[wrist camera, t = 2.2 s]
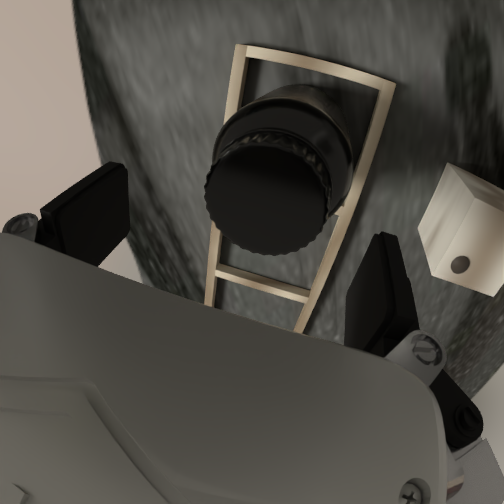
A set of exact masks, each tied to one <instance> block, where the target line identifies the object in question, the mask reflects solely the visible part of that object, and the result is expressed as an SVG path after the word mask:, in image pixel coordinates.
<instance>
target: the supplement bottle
mask: <svg viewBox="0 0 504 504" xmlns="http://www.w3.org/2000/svg"><path fill="white" fill-rule="evenodd" d="M353 172H354V161H353V154H352V147H351V141H350V135H349V129H348V124H347V121H346V118H345V115H344V113H343V111H342V109H341V108H340V106H339V105H338V104H337V103H336V101H335V100H334V99H333V98H331V97H330V96H329V95H328V94H326V93H325V92H323V91H321V90H319V89H317V88H314V87H311V86H307V85H287V86H283V87H280V88H278V89H275V90H273V91H271V92H269V93H267V94H265V95H264V96H262V97H260V98H258V99H256V100H254V101H253V102H251V103H249V104H247V105H245V106H244V107H242V108H241V109H239V110H238V111H237V112H236V113H234V114H233V115H232V116H231V117H230V118H229V119H228V120H227V121H226V123H225V124H224V125H223V127H222V128H221V130H220V132H219V134H218V136H217V138H216V141H215V144H214V149H213V156H212V165H211V169H210V171H209V172H208V174H207V176H206V180H207V182H206V184H205V186H204V189H205V192H206V193H205V196H204V199H205V201H206V203H207V204H206V209H207V210H208V212H209V213H210V219H211V220H212V221H213V222H214V223H215V226H216V228H217V229H218V230H220V231H221V232H222V234H223V236H224V237H226V238H228V239H229V240H230V241H231V242H232V243H233V244H236V245H238V246H240V247H241V248H242V249H246V250H249V251H250V252H252V253H259V254H262V255H273V256H276V255H279V254H283V255H286V254H288V253H290V252H297V251H298V250H299V249H300V248H303V247H306V246H307V245H308V243H309V242H311V241H314V240H315V239H316V236H317V235H318V234H319V233H320V232H322V230H323V225H324V224H325V223H326V221H327V219H329V218H330V217H331V216H332V215H333V214H335V213H336V212H337V210H338V209H339V208H340V207H341V206H342V204H343V203H344V201H345V199H346V198H347V196H348V193H349V191H350V188H351V185H352V180H353Z"/></svg>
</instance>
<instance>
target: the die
mask: <svg viewBox="0 0 504 504" xmlns="http://www.w3.org/2000/svg"><path fill="white" fill-rule="evenodd" d="M418 231H419V234H420V237H421V240H422V243H423V247H424V250H425V253H426V257H427V260H428V264H429V267H430V271H431V274H432V276H435V277H438V278H441V279H444V280H447V281H450V282H453V283H455V284H458V285H461V286H464V287H467V288H470V289H473V290H476V291H479V292H481V293H484V294H487V295H490V296H493V297H494V296H495V294H496V293H497V292H498V290H499V289H500V287H501V286H502V285H503V283H504V190H502V189H500V188H498V187H496V186H495V185H493V184H491V183H489V182H487V181H485V180H483V179H481V178H479V177H477V176H475V175H473V174H471V173H469V172H467V171H465V170H463V169H461V168H459V167H457V166H455V165H452V164H450V163H448V162H447V164H446V167H445V169H444V171H443V174H442V176H441V179H440V181H439V183H438V186H437V188H436V190H435V192H434V195H433V197H432V199H431V201H430V203H429V205H428V208H427V210H426V212H425V214H424V216H423V218H422V220H421V222H420V224H419V226H418Z"/></svg>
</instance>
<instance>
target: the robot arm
mask: <svg viewBox="0 0 504 504" xmlns="http://www.w3.org/2000/svg"><path fill="white" fill-rule="evenodd" d="M40 213H41V217H42V218H41V219H40V220H39V221H38V217H37V216H36V215H34V214H32V213H24V214H20V215H17V216H15V217H13V218H11V219H10V220H9V221H8V222H7V223H6V224H5V225H4V227H3V230H2V233H0V504H502V502H503V501H504V476H503V474H502V472H501V469H500V467H499V465H498V462H497V460H496V458H495V456H494V454H493V452H492V449H491V447H490V445H489V443H488V441H487V439H484V440H482V438H481V433H482V431H483V418H482V415H481V413H480V411H479V410H478V408H477V407H476V405H475V404H474V403H473V402H472V401H471V400H470V399H469V398H468V396H467V395H466V394H465V393H464V392H463V391H462V390H461V389H460V387H459V386H458V385H457V384H456V383H455V382H454V381H453V380H452V379H451V378H450V376H449V375H448V374H447V373H446V372H445V371H444V370H443V369H442V368H443V367H444V365H445V363H446V358H447V355H446V351H445V348H444V346H443V344H442V343H441V342H440V340H439V339H438V338H437V337H436V336H434V335H433V334H431V333H429V332H427V331H424V330H420V329H419V323H418V317H417V312H416V307H415V302H414V297H413V292H412V288H411V283H410V280H409V278H408V277H407V274H406V270H405V266H404V262H403V258H402V254H401V250H400V246H399V242H398V238H397V236H395V235H392V234H389V233H386V232H381V233H380V234H374V236H373V238H372V240H371V242H370V245H369V247H368V249H367V251H366V253H365V256H364V258H363V260H362V262H361V264H360V266H359V268H358V271H357V273H356V275H355V277H354V279H353V281H352V283H351V285H350V287H349V289H348V292H347V295H346V312H345V337H344V345H341V344H338V343H334V342H331V341H327V340H324V339H320V338H316V337H313V336H309V335H305V334H301V333H298V332H294V331H291V330H287V329H283V328H280V327H276V326H273V325H269V324H266V323H263V322H259V321H256V320H252V319H249V318H246V317H243V316H239V315H236V314H233V313H229V312H226V311H223V310H220V309H217V308H213V307H210V306H207V305H204V304H201V303H198V302H195V301H192V300H189V299H185V298H182V297H179V296H176V295H173V294H171V293H168V292H165V291H162V290H159V289H156V288H153V287H150V286H147V285H145V284H142V283H139V282H136V281H133V280H131V279H128V278H125V277H123V276H120V275H117V274H114V273H112V272H109V271H106V270H104V269H101V268H99V267H98V266H99V265H100V264H101V263H102V261H103V260H104V259H105V258H106V257H107V256H108V255H109V254H110V253H111V252H112V251H113V250H114V248H115V247H116V246H117V245H118V244H119V243H120V242H121V241H122V240H123V239H124V238H125V237H126V236H127V235H128V233H129V230H130V216H129V197H128V171H127V169H126V168H125V166H124V165H123V164H121V163H116V162H108V163H106V164H105V165H103V166H101V167H100V168H98V169H97V170H95V171H94V172H92V173H91V174H89V175H88V176H86V177H85V178H83V179H82V180H80V181H79V182H77V183H76V184H74V185H73V186H71V187H70V188H68V189H67V190H66V191H64V192H63V193H61V194H60V195H58V196H57V197H56V198H54V199H53V200H52V201H51V202H49V203H48V204H46V205H45V206H44V207H42V208H41V209H40Z"/></svg>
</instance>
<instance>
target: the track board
mask: <svg viewBox="0 0 504 504" xmlns="http://www.w3.org/2000/svg"><path fill="white" fill-rule="evenodd" d="M249 57H252V58H258V59H264V60H269V61H274V62H280V63H285V64H289V65H294V66H298V67H303V68H307V69H311V70H315V71H319V72H323V73H327V74H330V75H334V76H338V77H341V78H345V79H348V80H351V81H354V82H358V83H361V84H364V85H367V86H370V87H373V88H376V89H379V93H378V97H377V100H376V104H375V107H374V111H373V114H372V117H371V121H370V124H369V127H368V131H367V134H366V137H365V140H364V143H363V147H362V150H361V153H360V156H359V159H358V162H357V165H356V168H355V171H354V174H353V180H352V185H351V188H350V191H349V193H348V196H347V198H346V199H345V201H344V203H343V204H342V206H341V207H340V208H339V209H338V210H337V212H336V213H335V214H336V215H339V217H338V220H337V223H336V225H335V228H334V231H333V233H332V236H331V239H330V241H329V244H328V247H327V249H326V252H325V255H324V257H323V260H322V262H321V265H320V267H319V270H318V272H317V275H316V277H315V280H314V282H313V285H312V287H311V290H306V289H303V288H299V287H296V286H293V285H289V284H286V283H283V282H279V281H276V280H273V279H269V278H266V277H263V276H259V275H256V274H253V273H249V272H246V271H243V270H240V269H236V268H233V267H230V266H227V265H223V264H220V263H219V261H220V252H221V244H222V237H223V234H222V232H221V231H220V230H218V229H217V228H216V226H215V223H214V222H213V221H212V227H211V237H210V247H209V257H208V269H207V280H206V292H205V305H207V306H210V307H213V308H214V303H215V294H216V286H217V277H220V278H223V279H227V280H230V281H233V282H236V283H239V284H243V285H246V286H249V287H252V288H256V289H259V290H262V291H265V292H269V293H272V294H275V295H279V296H282V297H285V298H289V299H292V300H295V301H299V302H302V303H305V304H304V307H303V309H302V311H301V314H300V316H299V319H298V321H297V323H296V325H295V328H294V330H293V331H294V332H298V333H301V334H302V332H303V330H304V328H305V326H306V323H307V321H308V319H309V317H310V315H311V313H312V310H313V308H314V306H315V304H316V302H317V299H318V297H319V295H320V293H321V290H322V288H323V286H324V283H325V281H326V279H327V276H328V274H329V272H330V269H331V267H332V265H333V262H334V260H335V258H336V255H337V253H338V250H339V248H340V245H341V243H342V240H343V238H344V235H345V233H346V230H347V228H348V225H349V223H350V220H351V218H352V215H353V212H354V210H355V207H356V204H357V202H358V199H359V196H360V194H361V191H362V188H363V185H364V183H365V180H366V177H367V174H368V171H369V168H370V166H371V163H372V160H373V157H374V154H375V151H376V148H377V145H378V142H379V139H380V136H381V133H382V130H383V126H384V123H385V120H386V117H387V113H388V110H389V107H390V104H391V100H392V97H393V93H394V90H395V86H396V83H394V82H391V81H389V80H386V79H383V78H380V77H377V76H374V75H371V74H368V73H365V72H362V71H359V70H356V69H353V68H349V67H346V66H342V65H339V64H335V63H332V62H328V61H324V60H320V59H316V58H312V57H308V56H303V55H299V54H294V53H289V52H284V51H279V50H274V49H268V48H262V47H256V46H249V45H242V44H236V46H235V52H234V59H233V65H232V71H231V77H230V84H229V91H228V97H227V104H226V111H225V118H224V124H225V123H226V121H227V120H228V119H229V118H230V117H231V116H232V115H233V114H234V113H236V112H237V111H238V110H239V109H241V105H242V99H243V93H244V87H245V81H246V75H247V69H248V63H249Z"/></svg>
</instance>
